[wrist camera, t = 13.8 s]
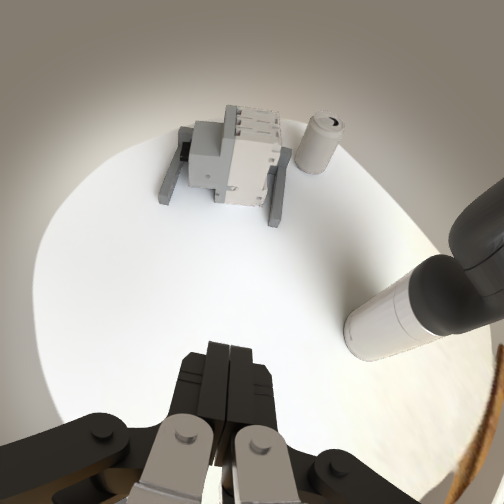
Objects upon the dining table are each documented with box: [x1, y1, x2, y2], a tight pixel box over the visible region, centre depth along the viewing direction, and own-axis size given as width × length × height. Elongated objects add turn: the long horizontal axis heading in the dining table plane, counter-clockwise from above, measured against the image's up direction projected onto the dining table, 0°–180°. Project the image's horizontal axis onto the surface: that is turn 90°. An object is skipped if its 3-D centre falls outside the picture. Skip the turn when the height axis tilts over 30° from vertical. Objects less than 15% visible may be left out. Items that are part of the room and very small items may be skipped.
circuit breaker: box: [180, 105, 282, 207], centre depth 48 cm, size 8×14×15 cm, turn 90°
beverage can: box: [295, 111, 344, 174], centre depth 56 cm, size 6×6×12 cm
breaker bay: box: [159, 126, 292, 228], centre depth 52 cm, size 20×13×7 cm, turn 82°
